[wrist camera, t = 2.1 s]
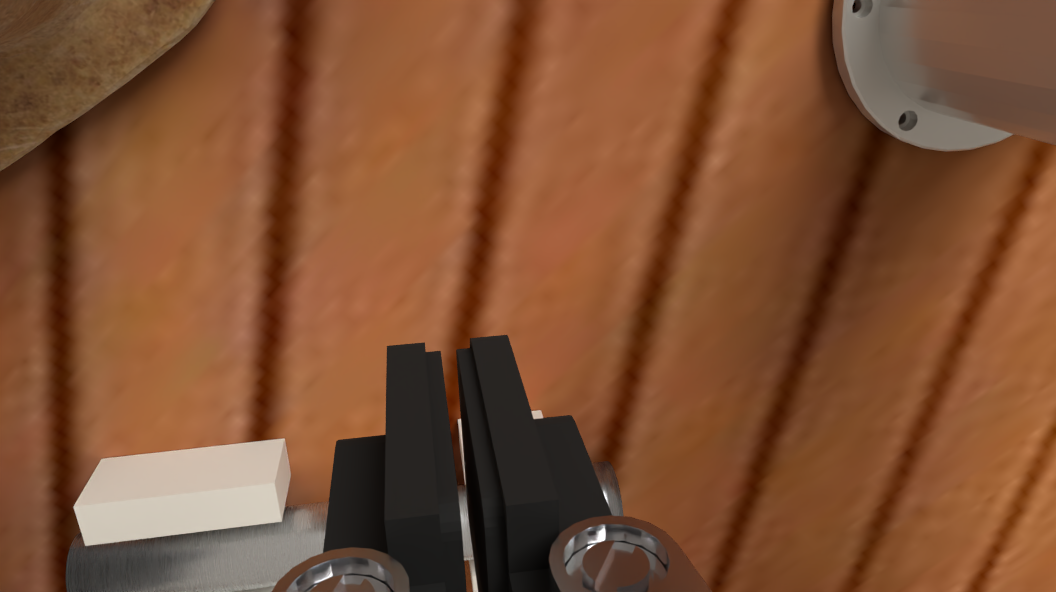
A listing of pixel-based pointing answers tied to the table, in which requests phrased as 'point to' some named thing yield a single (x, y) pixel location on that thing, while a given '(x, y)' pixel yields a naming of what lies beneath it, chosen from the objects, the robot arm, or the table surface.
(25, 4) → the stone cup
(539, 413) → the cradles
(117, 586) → the slip tube
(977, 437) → the table surface
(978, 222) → the table surface
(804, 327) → the table surface
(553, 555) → the robot arm
